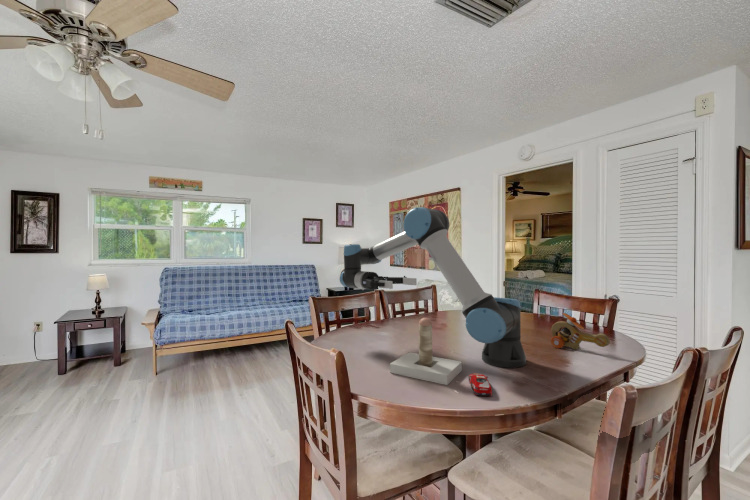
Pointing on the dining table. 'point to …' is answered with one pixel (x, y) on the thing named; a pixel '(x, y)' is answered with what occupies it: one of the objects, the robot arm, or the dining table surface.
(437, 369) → the block
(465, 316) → the robot arm
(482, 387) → the race car
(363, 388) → the dining table surface
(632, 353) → the dining table surface
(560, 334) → the toy helicopter
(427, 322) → the round-tipped rod
